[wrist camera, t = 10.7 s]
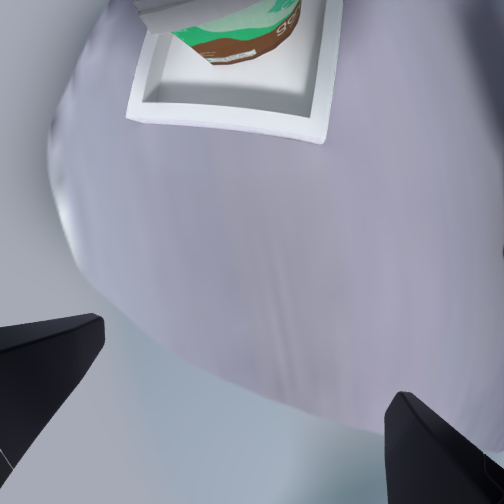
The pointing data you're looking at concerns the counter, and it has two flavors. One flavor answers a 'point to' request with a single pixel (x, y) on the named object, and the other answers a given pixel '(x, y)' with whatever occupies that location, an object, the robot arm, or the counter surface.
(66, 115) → the counter surface
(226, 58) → the food container
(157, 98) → the tray
